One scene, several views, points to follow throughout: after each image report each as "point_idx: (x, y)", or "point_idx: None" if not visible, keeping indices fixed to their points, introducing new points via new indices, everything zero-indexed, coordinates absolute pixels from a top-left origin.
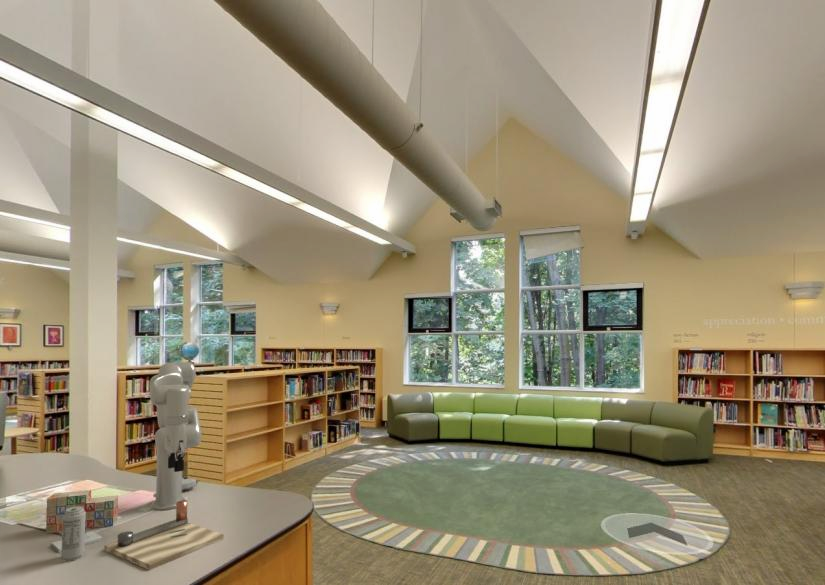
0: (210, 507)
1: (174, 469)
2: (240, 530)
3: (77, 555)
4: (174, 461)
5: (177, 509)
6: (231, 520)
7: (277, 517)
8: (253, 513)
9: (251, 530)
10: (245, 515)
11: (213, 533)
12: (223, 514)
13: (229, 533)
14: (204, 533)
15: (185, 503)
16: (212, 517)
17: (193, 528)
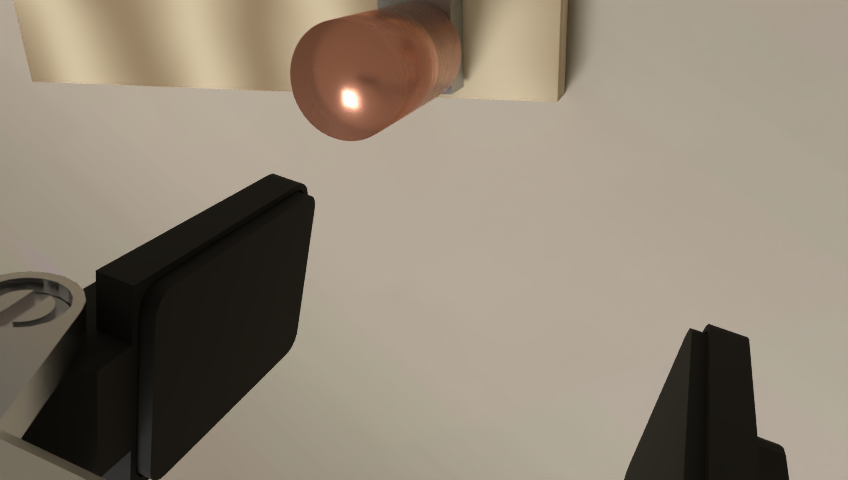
0: None
1: (259, 189)
2: (103, 221)
3: None
4: (133, 272)
5: (363, 12)
6: None
7: None
8: (277, 455)
9: (63, 248)
10: (287, 415)
11: (84, 55)
12: (422, 382)
13: (106, 156)
14: (122, 18)
15: (297, 86)
16: (438, 311)
17: (263, 37)
